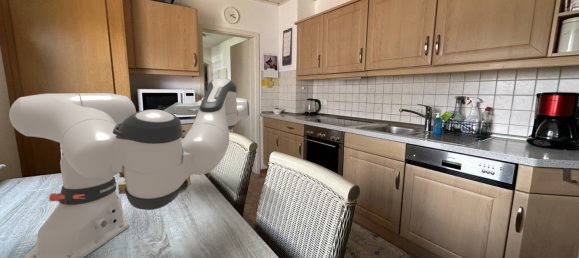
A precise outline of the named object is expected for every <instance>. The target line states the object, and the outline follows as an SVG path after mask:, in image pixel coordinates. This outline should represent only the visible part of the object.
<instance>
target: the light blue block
mask: <svg viewBox="0 0 579 258" xmlns="http://www.w3.org/2000/svg"><path fill="white" fill-rule="evenodd" d="M181 104H183V103H182V102H181V101H178V102H174V104H172V105H171V106H175V105H181ZM169 107H170V106H168V107H167V108H165V109H164V110H162V111H166V112H170V113H172V114H174V115H175V111H169Z"/></svg>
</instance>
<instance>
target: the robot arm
mask: <svg viewBox="0 0 579 258" xmlns="http://www.w3.org/2000/svg"><path fill="white" fill-rule="evenodd" d="M168 107H169V111H175V113H174V114H172V113H170V112H166V111H163V110H160V109H145V110H139V111H137V110H136V106H135V104H134V102H133V101H132V100H131V99H130V98H129V97H127V96H126V95H122V94H118V93H110V92H83V93H81V92H80V93H78V92H77V93H75V92H74V93H39V94H33V95H26V96H21V97H18V98H17V99H16V100H15V101H14V102H13V103H12V104H11V106H10V108H9V114H8V117H9V122H10V123H11V125H12V127H13V128H14V129H15V130H16V131H17V132H19V133H20V134H22V135H24V136H25V137H33V138H34V137H35V138H43V139H47V140H50V141H53V142H56V143H59V144H60V147H61V151H62V153H63V155H62V156H61V158H60V162H59V165H60V172H61V178H62V186H61V190H60V192H58V193H53V192H52V193H50V194H49V196H48V200H49V201H50V202H58V205H57V206H56V207H55V209H53V211H52V212H51V214H50V215H49V216H48V218H47V219H46V220H45V222H44V223H43V224H42V225H41V227H40V228H39V229H38V232H37V237H36V241H37V242H36V243H37V244H36V246H34V247H33V248H32V249H31V250H30V251H28V252H27V253H26V254H25V255H24V258H85V257H86V256H89V255H90V254H92V252H94V251H95V250H97V249H98V248H100V247H101V246H103V245H104V244H106V243H107V242H109V241H111V240H112V239H113V238H115V237H116V236H117V235H119V234H120V233H122V232H123V231H125V230H127V229H128V228H129V227H130V224H129V222H128V221H127V220H126V218H125V214H124V209H123V205H122V201H121V199H120V197H119V196H118V194H117V192H116V190H117V181H116V178H115V176H116V175H118V174H119V172H122V170H123V169H124V177H123V178H124V181H125V184H126V186H125V192H126V193H125V196H126V199H127V201H128V203H130V205H131V206H132V207H134V208H136V209H138V210H145V211H153V210H159V209H162V208H163V207H166V206H167V205H168V204H170V203H172V201H174V200H175V199H176V198H177V197H178V196H179V194H180V191H182V190H183V191H185V189H187V187H188V186H189V185H188V181H187V179H186V178H187V177H188V176H190V177H191V176H192V175H199V176H201V175H205V174H208V173H211V172H212V171H213V170H214V169H216V168H217V167H218V166H219V164H220V163H221V161H223V158H224V156H225V155H226V152H227V150H228V148H229V146H230V131H231V130H233V129H234V128H235V127H236V126H237V125H238V122H239V121H240V120H245V119H248V118H249V115H250V107H249V101H248V99H246V98H243V97H242V98H241V97H237V85H236V83H235V82H233V81H232V80H231V79H229V78H224V77H223V78H215V79H213V80H211V81H210V82H209V83H208V84H207V85H206V93H205V95H204V97H202V98H201V99H199V100H198V101H194V102H189V103H182V104H181V105H175V106H172V105H170V106H168ZM178 116H195V119H194V122H192V123H193V124H192V126H191V127H190V129H189V130H188V131H187V133H186V134H185V136H184V131H183V125H182V122H181V119H180V117H178ZM183 136H184V138H182V137H183ZM184 184H185V185H184ZM183 191H182V192H183Z"/></svg>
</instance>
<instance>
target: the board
mask: <svg viewBox="0 0 579 258" xmlns="http://www.w3.org/2000/svg"><path fill="white" fill-rule="evenodd" d="M186 179H187V181H188V186H189V185H190V184H191V175H190V176H188V177H187V178H186ZM184 185H185V184H184ZM117 186H118V193H119V194H126V192H125V186H126V184H125V180H123V181H121V182H120V183H118V184H117ZM182 192H184V190H182V191H180V193H182ZM180 193H179V194H180Z"/></svg>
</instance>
